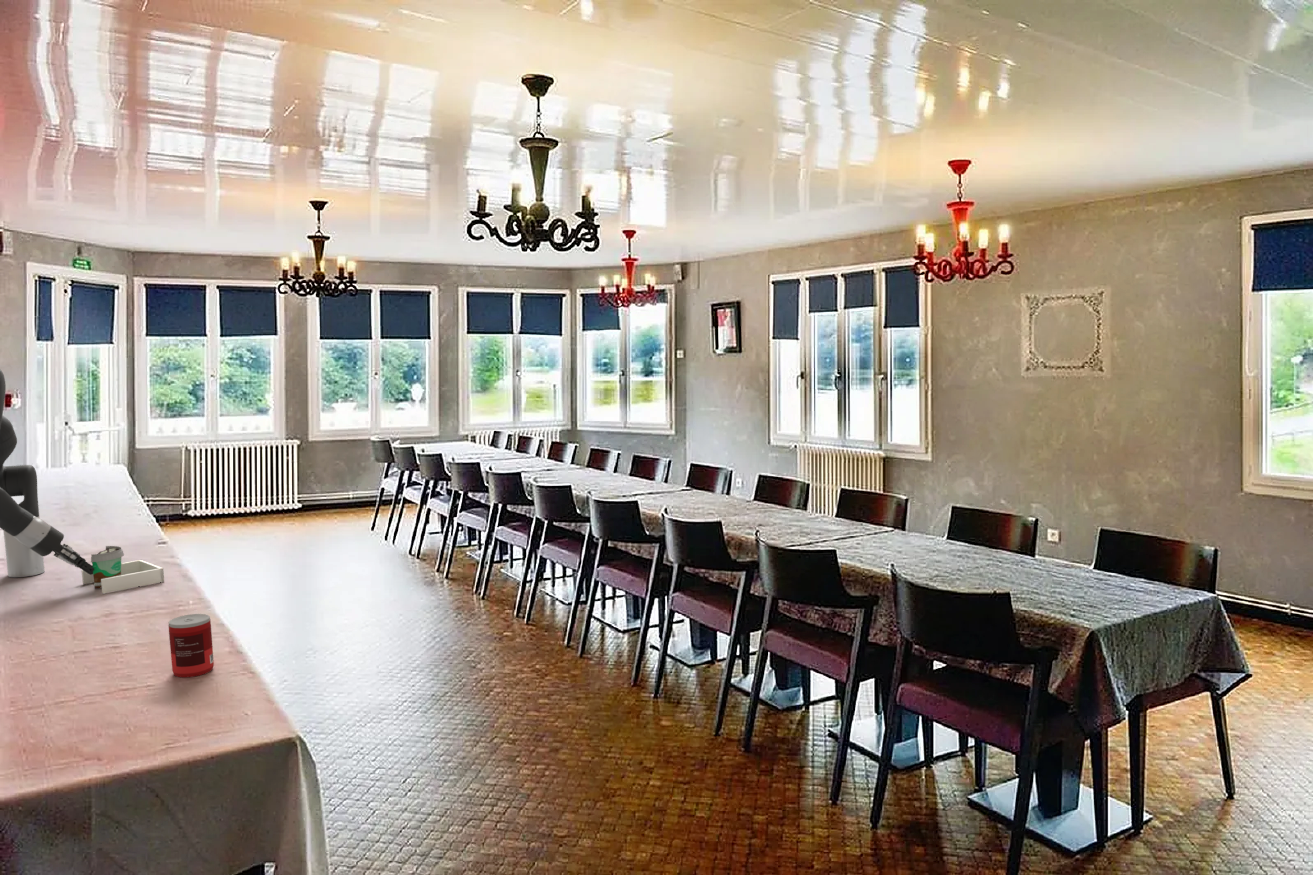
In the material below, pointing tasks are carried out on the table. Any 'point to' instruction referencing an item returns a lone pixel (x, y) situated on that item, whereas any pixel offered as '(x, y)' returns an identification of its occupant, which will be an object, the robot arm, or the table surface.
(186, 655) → the canned food
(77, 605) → the table surface
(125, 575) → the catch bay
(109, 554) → the food container
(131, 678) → the table surface
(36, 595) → the table surface
